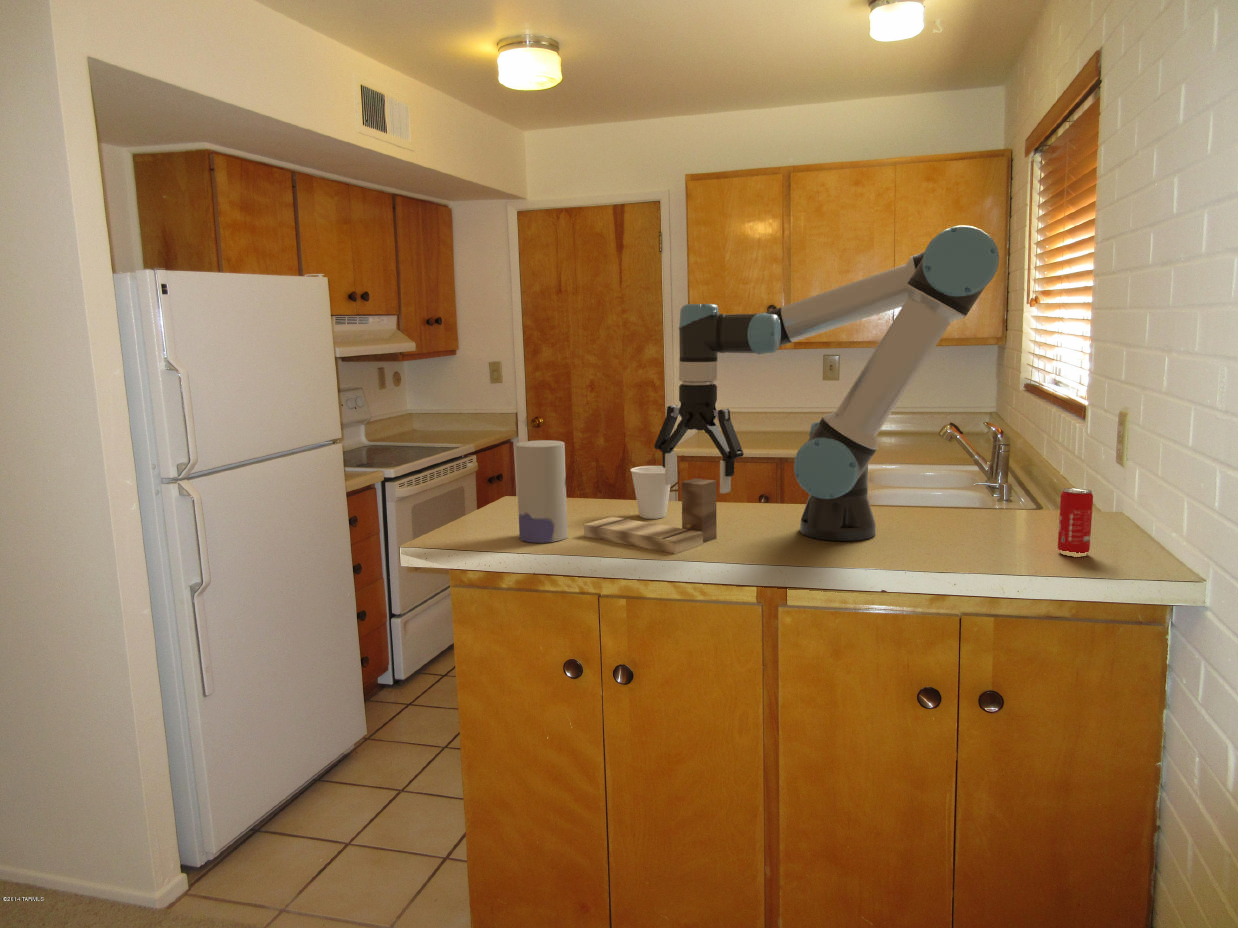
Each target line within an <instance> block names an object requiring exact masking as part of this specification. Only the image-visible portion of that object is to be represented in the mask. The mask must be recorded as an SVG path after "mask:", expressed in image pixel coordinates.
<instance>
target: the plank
mask: <svg viewBox="0 0 1238 928" xmlns="http://www.w3.org/2000/svg"><path fill="white" fill-rule="evenodd" d="M583 533H584V534H583V535H584V537H587V538H593V539H598V540H603V541H608V542H613V543H619V544H623V545H629V546H633V545H634V546H635V547H640V548H644V549H649V550H654V551H659V552H665V553H671V554H676V555H677V554H679V553H682V552H685V551H687V550H691V549H693V548H697V547H698V546H702V545H703V544H704V543H703V532H700V531H694V530H691V529H689V530H688V529H682V527H676V526H669V525H663V524H659V523H658V524H657V523H651V522H645V521H639V520H634V519H628V518H625V517H624V518H623V517H617V516H609V517H606V518H602V519H598V520H595V521H592V522H588V523H584V524H583Z"/></svg>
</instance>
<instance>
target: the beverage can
mask: <svg viewBox="0 0 1238 928" xmlns="http://www.w3.org/2000/svg"><path fill="white" fill-rule="evenodd" d="M1093 504H1094V495H1093V491H1092V490H1091V489H1087V488H1082V487H1081V488H1080V487H1066V488H1063V489H1062V491H1061V493H1060V504H1059V516H1058V518H1059V521H1058V533H1057V534H1058V535H1057V550H1058V551H1059V550H1062V551H1069V552H1076V553H1079V552H1080V553H1085V552H1088V553H1089V551H1090V549H1091V548H1090V547H1091V534H1092V522H1093V521H1092V519H1093V506H1094V505H1093Z"/></svg>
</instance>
